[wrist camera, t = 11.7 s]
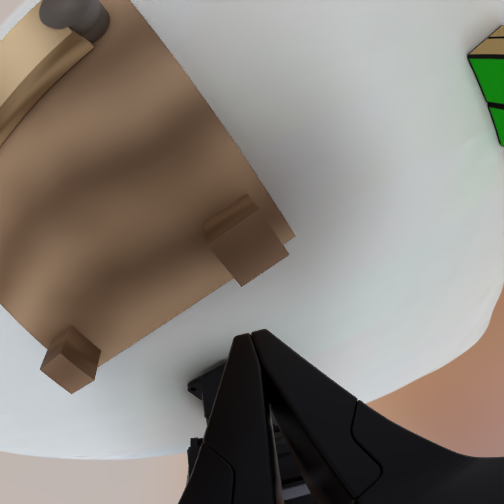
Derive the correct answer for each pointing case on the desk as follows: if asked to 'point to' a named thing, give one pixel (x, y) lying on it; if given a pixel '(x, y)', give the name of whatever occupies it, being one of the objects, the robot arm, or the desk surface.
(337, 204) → the desk surface
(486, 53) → the puzzle cube
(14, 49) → the hinged leg
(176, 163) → the seat
